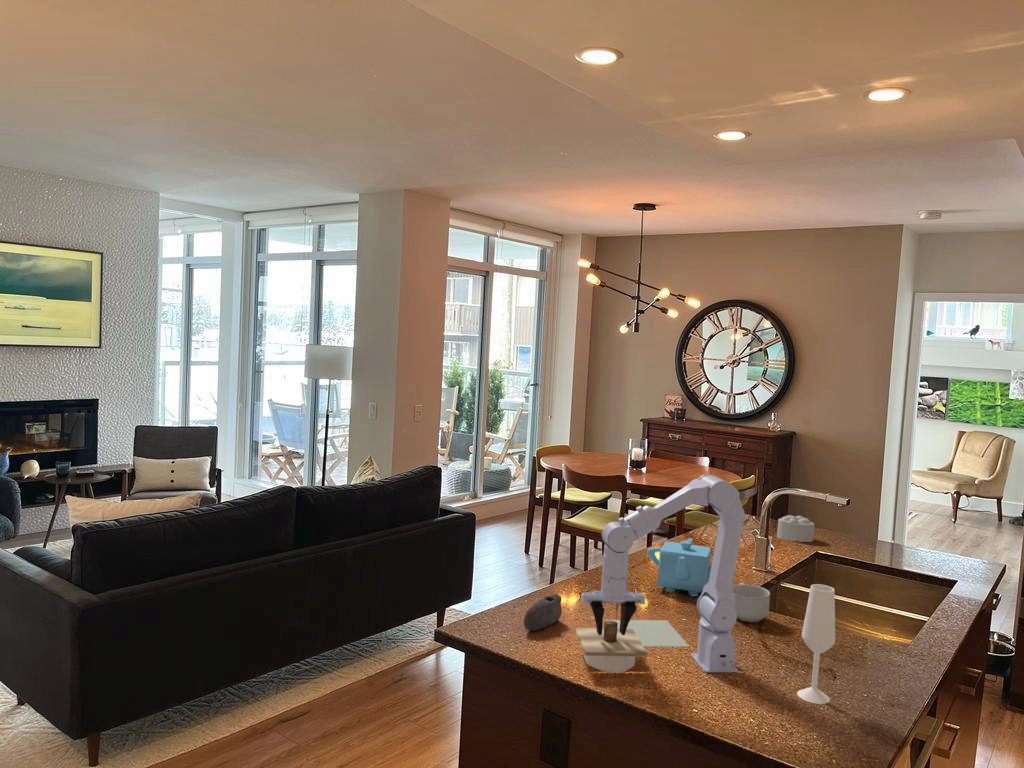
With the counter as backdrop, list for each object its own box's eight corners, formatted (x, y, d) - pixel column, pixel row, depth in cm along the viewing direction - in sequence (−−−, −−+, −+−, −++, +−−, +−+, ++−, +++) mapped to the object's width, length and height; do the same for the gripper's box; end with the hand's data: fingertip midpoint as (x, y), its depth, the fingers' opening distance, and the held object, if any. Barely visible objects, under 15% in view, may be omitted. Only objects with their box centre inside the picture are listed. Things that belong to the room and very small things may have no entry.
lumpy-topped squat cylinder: (784, 533, 314) (786, 512, 313) (817, 540, 305) (819, 518, 305) (774, 537, 306) (776, 516, 305) (807, 545, 297) (809, 522, 297)
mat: (689, 647, 191) (689, 646, 191) (622, 647, 189) (622, 646, 189) (666, 621, 208) (666, 620, 208) (604, 621, 206) (604, 619, 206)
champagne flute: (799, 701, 166) (809, 590, 164) (794, 687, 172) (803, 581, 171) (833, 705, 164) (842, 594, 163) (826, 691, 171) (835, 584, 169)
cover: (647, 656, 173) (648, 635, 173) (585, 655, 172) (586, 634, 172) (632, 632, 187) (633, 612, 187) (574, 630, 186) (575, 611, 186)
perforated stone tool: (531, 637, 192) (533, 610, 192) (515, 631, 196) (516, 604, 195) (566, 621, 204) (568, 596, 204) (550, 616, 207) (552, 590, 207)
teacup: (770, 628, 208) (772, 598, 207) (728, 622, 210) (730, 593, 209) (764, 610, 221) (766, 582, 221) (724, 605, 224) (726, 578, 223)
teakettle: (640, 583, 240) (643, 536, 239) (688, 577, 248) (691, 531, 247) (679, 604, 223) (683, 553, 222) (730, 597, 231) (733, 548, 230)
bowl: (638, 673, 175) (640, 653, 175) (591, 673, 174) (592, 653, 173) (625, 653, 186) (626, 634, 186) (580, 653, 184) (581, 634, 184)
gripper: (640, 570, 183) (636, 626, 184) (579, 569, 181) (576, 626, 182) (649, 580, 176) (645, 638, 177) (586, 579, 174) (582, 638, 175)
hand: (610, 633), depth 179 cm, fingers open, 5 cm apart
